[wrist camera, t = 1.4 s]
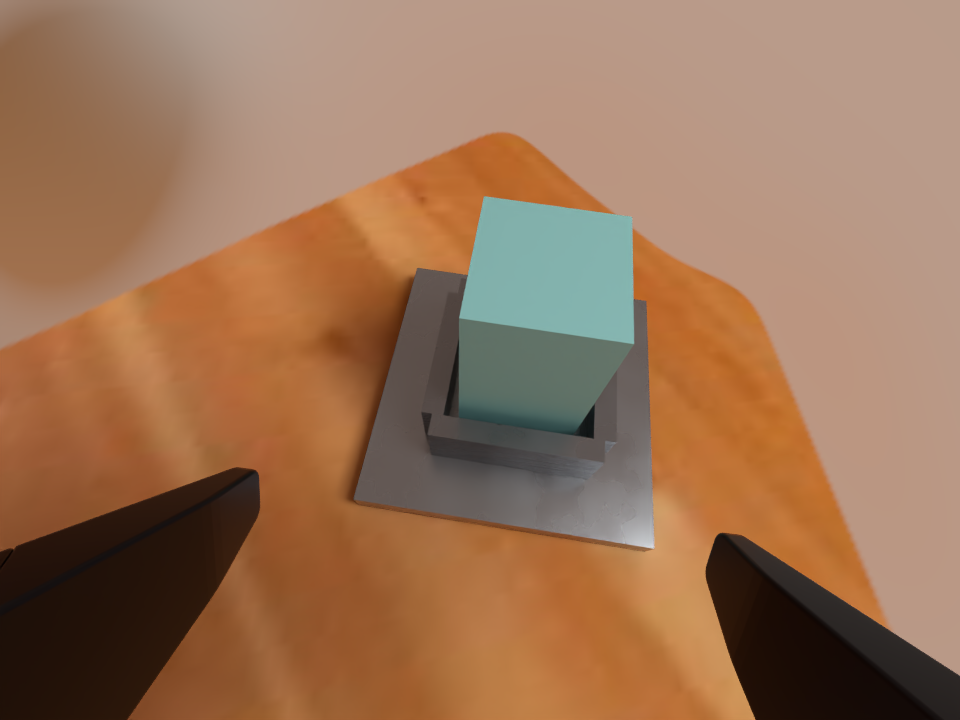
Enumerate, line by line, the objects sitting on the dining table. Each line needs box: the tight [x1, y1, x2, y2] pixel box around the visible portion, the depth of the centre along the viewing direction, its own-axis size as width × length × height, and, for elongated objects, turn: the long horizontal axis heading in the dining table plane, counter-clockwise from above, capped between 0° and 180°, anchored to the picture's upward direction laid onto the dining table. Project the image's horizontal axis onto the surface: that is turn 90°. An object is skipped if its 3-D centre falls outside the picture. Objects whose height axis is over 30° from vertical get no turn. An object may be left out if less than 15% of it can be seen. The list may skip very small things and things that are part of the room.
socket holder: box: [353, 268, 654, 551], centre depth 24 cm, size 14×14×4 cm
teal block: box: [459, 196, 634, 435], centre depth 20 cm, size 6×6×10 cm
